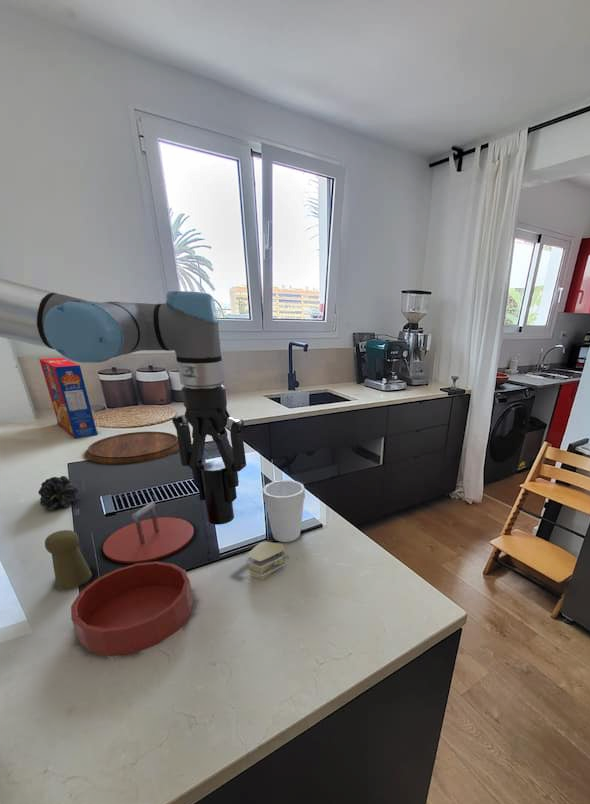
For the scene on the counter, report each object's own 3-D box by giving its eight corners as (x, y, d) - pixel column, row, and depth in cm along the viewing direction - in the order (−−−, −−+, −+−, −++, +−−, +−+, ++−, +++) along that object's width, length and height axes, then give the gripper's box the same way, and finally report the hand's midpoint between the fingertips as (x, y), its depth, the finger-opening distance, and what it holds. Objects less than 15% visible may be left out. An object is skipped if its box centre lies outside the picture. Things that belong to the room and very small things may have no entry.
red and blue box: (58, 424, 174) (39, 358, 163) (79, 420, 180) (62, 357, 168) (74, 438, 157) (54, 367, 145) (97, 434, 162) (79, 365, 151)
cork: (81, 568, 82) (66, 523, 77) (99, 577, 79) (85, 530, 75) (49, 585, 77) (32, 537, 72) (68, 595, 74) (51, 546, 70)
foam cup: (298, 550, 90) (296, 499, 85) (260, 545, 91) (256, 495, 86) (310, 529, 99) (309, 482, 93) (275, 524, 100) (272, 478, 95)
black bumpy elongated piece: (40, 464, 108) (40, 482, 97) (77, 467, 114) (81, 484, 103) (37, 493, 110) (36, 514, 99) (73, 495, 115) (76, 515, 104)
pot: (53, 647, 63) (42, 621, 61) (130, 579, 79) (124, 556, 77) (151, 666, 60) (144, 639, 58) (211, 592, 76) (207, 568, 74)
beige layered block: (268, 593, 76) (266, 570, 74) (234, 578, 80) (231, 555, 78) (299, 566, 84) (298, 545, 82) (267, 554, 88) (265, 533, 86)
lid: (83, 559, 85) (71, 523, 81) (142, 517, 101) (135, 486, 98) (161, 571, 82) (153, 534, 78) (209, 526, 99) (204, 494, 95)
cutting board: (77, 470, 128) (75, 463, 127) (93, 441, 154) (91, 435, 153) (183, 458, 140) (182, 452, 139) (181, 433, 167) (180, 427, 166)
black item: (203, 523, 81) (194, 469, 76) (216, 511, 85) (208, 460, 80) (226, 526, 80) (219, 472, 75) (238, 514, 85) (232, 462, 80)
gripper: (144, 385, 69) (167, 502, 79) (240, 392, 66) (252, 512, 76) (170, 378, 76) (188, 487, 86) (258, 384, 73) (267, 495, 83)
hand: (218, 498), depth 81 cm, fingers closed on black item, 5 cm apart
